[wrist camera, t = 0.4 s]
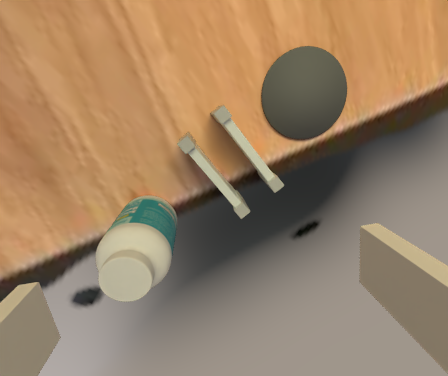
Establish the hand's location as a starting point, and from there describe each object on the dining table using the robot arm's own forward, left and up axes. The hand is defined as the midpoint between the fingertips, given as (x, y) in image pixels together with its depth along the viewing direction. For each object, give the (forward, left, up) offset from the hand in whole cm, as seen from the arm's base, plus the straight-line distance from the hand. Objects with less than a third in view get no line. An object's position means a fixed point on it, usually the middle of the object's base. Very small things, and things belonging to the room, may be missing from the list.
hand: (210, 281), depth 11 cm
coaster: (+2, +16, -25) cm, 30 cm away
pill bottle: (+2, -10, -25) cm, 27 cm away
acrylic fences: (+2, +3, -25) cm, 25 cm away
